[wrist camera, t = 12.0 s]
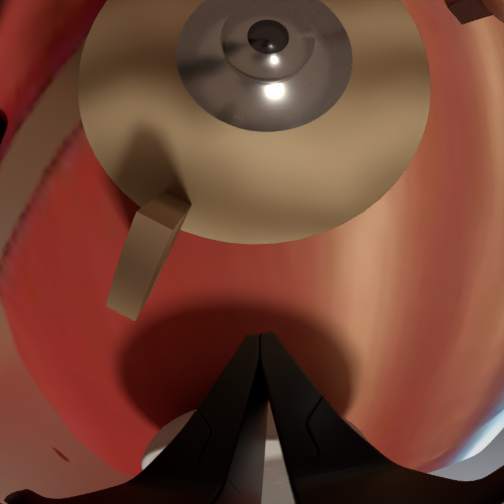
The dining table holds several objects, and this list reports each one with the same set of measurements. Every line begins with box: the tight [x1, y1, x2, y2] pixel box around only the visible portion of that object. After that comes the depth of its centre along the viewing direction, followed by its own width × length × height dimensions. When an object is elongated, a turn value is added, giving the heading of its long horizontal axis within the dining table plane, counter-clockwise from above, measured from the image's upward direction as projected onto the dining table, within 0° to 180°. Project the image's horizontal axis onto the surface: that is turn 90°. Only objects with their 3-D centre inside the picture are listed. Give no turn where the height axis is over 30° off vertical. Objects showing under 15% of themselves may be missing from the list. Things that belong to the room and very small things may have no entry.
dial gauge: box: [448, 0, 504, 24], centre depth 6 cm, size 4×3×8 cm
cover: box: [177, 0, 353, 132], centre depth 9 cm, size 7×7×4 cm
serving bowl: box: [141, 400, 368, 504], centre depth 22 cm, size 21×21×7 cm
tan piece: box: [78, 0, 431, 321], centre depth 10 cm, size 21×19×5 cm
